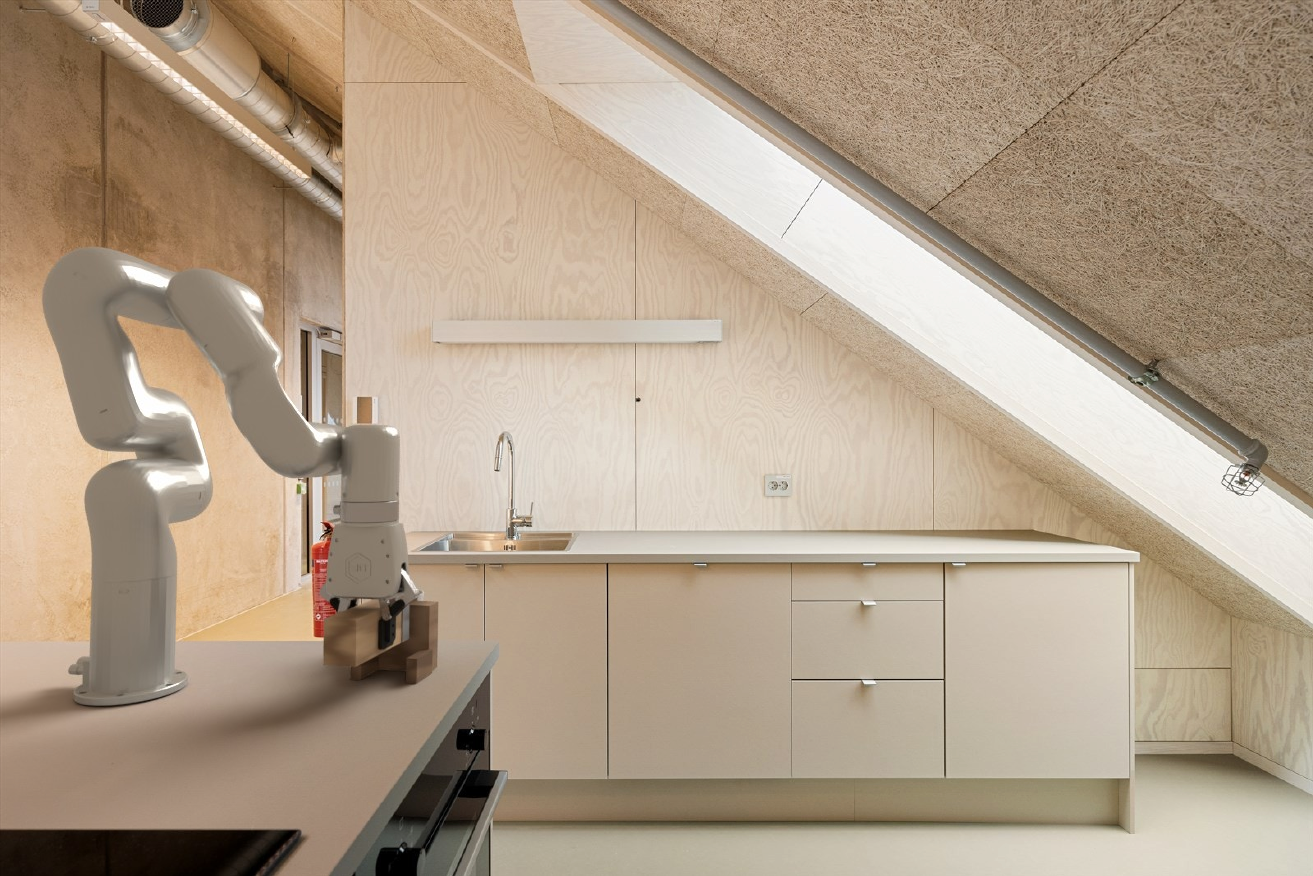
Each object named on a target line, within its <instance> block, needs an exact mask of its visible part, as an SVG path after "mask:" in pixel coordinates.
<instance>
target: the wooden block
mask: <svg viewBox="0 0 1313 876" xmlns="http://www.w3.org/2000/svg"><path fill="white" fill-rule="evenodd" d="M397 599H398V600H399V599H400V598H397ZM380 620H382V614H381V609H380V604H379V599H372V600H371V599H370V600H368V601H365V602H362V603H361V604H358V605H357V606H355V607H353V608H350V609H347V610H345V611H342V612H340V613H337V612H336V613H334V614H332V615H329V616H328V617H325V618H323V649H322V650H323V655H322V657H323V658H322V659H323V660H322V665H323V666H329V667H330V666H331V667H348V668H349V667H350V668H351V667H357V666H359V665H360V664H362V663H364V662H366V661H368V660H370V659H372V658H373V657H375V656H377V655H379V654H381V653H383V652H385V651H386V650H388V649H390V648H392V647H394V646H396V645H398V644H399V643H401V642H404V641H406V640H408V639H409V604H408V605H407V606H406V607H405V608H404V609H403V610H402V611H401V612H400V614H399V615H398V616H396V638H395V640H394V643H393V645H392V646H390V647H388V648H386V649H384V650H379V648H378V624H379V621H380Z"/></svg>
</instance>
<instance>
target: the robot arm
mask: <svg viewBox="0 0 1313 876" xmlns="http://www.w3.org/2000/svg"><path fill="white" fill-rule="evenodd" d="M41 296H42V299H41V302H42V310H43V316H44V318H45V322H46V325H47V328H48V330H49V333H50V336H51V338H52V342H53V343H54V347H55V348H56V353H57V355H58V359H59V361H60V362H59V363H60V364H61V369H62V373H63V376H64V381H65V385H66V389H67V392H68V396H69V399H70V402H71V406H72V410H73V414H74V417H75V421H76V425H77V427H78V430H79V433H80V435H81V437H82V439H83V440H84V441H85V442H86V443H87V444H88V445H89V446H90V447H92V448H95V449H97V450H100V451H105V452H115V453H118V452H120V453H135V457H136V458H130V459H121V460H119V461H115V462H111V463H109V464H107V465H104V466H103V467H101V468H100V469H99V470H97V471H96V472H95V473H94V474H93V475H92V477H90V479H89V481H88V483H87V485H86V487H85V490H84V498H83V500H84V511H85V515H86V521H87V524H88V530H89V537H90V545H91V546H90V547H91V551H90V552H91V574H90V575H91V577H90V579H91V596H90V600H91V601H90V630H89V631H90V632H89V634H90V635H89V656H86V655H85V656H81V657H79V658H78V659H77V660H76V662H75V663H74V664H70V665H69V667H68V670H67V672H68V674H69V675H72V676H73V675H75V676H81V675H82V681H81V683H82V684H80V685H78V686H77V687H76V688H74V691H73V700H74V702H76V703H78V704H80V705H84V706H96V707H100V706H102V707H103V706H104V707H107V706H119V705H129V704H135V703H139V702H140V703H141V702H145V701H149V700H150V701H151V700H154V699H158V698H161V697H164V696H168V695H170V694H173V693H175V692H178V691H181V690H182V689H183V688H184V687H186V685H187V684H188V678H189V675H188V674H187V673H186V672H185V671H184V670H180V669H176V633H177V632H176V629H177V595H178V593H177V591H178V556H177V547H176V544H175V540H174V537H173V534H172V532H171V528H170V526H169V525H170V524H175V523H176V524H177V523H182V522H187V521H191V520H192V519H194V518H197V517H198V516H200V515H201V514H203V513H204V512H205V510H206V509H207V508H208V506H209V505H210V504H211V501H212V498H213V491H214V483H213V477H212V472H211V468H210V465H209V462H208V458H207V454H206V451H205V446H204V444H203V440H202V437H201V432H200V429H199V426H198V422H197V419H196V417H195V416H196V415H195V414H194V413H193V411H192V409H191V407H190V406H189V404H188V403H187V402H186V401H185V400H184V399H183V398H182V397H180V396H179V395H178V394H176V393H174V392H172V391H170V390H167V389H164V388H160V387H153V386H149V385H148V383H147V382H146V379H145V377H144V374H143V371H142V368H141V365H140V361H139V357H138V353H137V350H136V348H135V346H134V343H132V341H131V339H130V337H129V335H128V334H127V333H126V332H125V330H124V328H123V327H122V325H121V323H120V322H119V319H118V317H119V316H120V317H123V318H125V319H126V318H127V319H131V320H135V321H138V322H141V323H146V324H150V325H154V326H158V327H164V328H169V329H174V330H175V329H176V330H181V331H184V332H185V333H186V335H187V336H188V338H190V340H191V341H192V342H193V343H194V345H195V346H196V347H197V349H198V350H199V352H200V353H201V355H203V357H204V358H205V359H206V361H207V362H208V363H209V366H210V367H211V368H212V369H213V371H214V372H215V374H216V375H217V377H219V379H220V380H221V382H222V384H223V385H224V394H225V399H226V403H227V405H228V410H229V412H230V414H231V418H232V419H233V422H234V424H235V425H236V427H237V428H238V430H239V431H240V433H241V435H242V436H243V437H244V438H245V440H246V441H247V443H248V444H249V445H250V447H251V448H252V449H253V450H254V452H255V453H256V454H257V456H258V457H259V458H260V459H261V461H262V462H263V463H264V464H265V465H266V466H267V467H268V468H269V469H271V470H272V471H273V472H275V473H277V474H278V475H280V476H282V477H285V478H288V479H305V478H306V479H307V478H325V477H331V476H338V475H341V476H340V477H341V479H340V481H341V482H340V483H341V485H340V502H339V504H335V505H333V507H332V513H333V514H334V515H338V516H339V521H340V523H335V524H334V526H333V531H332V534H331V538H330V543H329V549H328V555H327V564H326V577H325V578H326V579H325V582H324V583H323V585H322V586H321V587H320V589H319V591H318V594H319V596H320V597H322V598H323V599H324V600H325V601H326V602H329V605H330V606H331V607H332V608H333V609H334V611H335V613H336V614H337V613H340V612H342V611H345V610H347V609H350V608H353V607H355V606H358V605H359V601H360V600H371V599H379V604H380V609H381V614H382V620H380V621H379V624H378V648H379V650H384V649H386V648H388V647H390V646H392V645H393V643H394V640H395V638H396V616H398V615H399V614H400V612H401V611H402V610H403V609H404V608H405V607H406V606H407V605H408V604H409V603H411V602H412V601H414V600H415V599H417V598H418V597H419V596H420V593H419V591H418V590H419V589H418V588H417V586H416V585H415V584H414V582H413V581H412V579H411V578H410V568H409V566H410V565H409V551H408V543H407V536H406V532H405V528H404V523H403V522H402V523H401V522H400V467H401V466H400V461H401V459H400V458H401V457H400V456H401V455H400V454H401V453H400V452H401V451H400V450H401V439H400V438H401V437H400V432H399V430H398V429H397V428H396V427H394V426H391V425H384V424H383V425H382V424H353V425H348V426H344V425H343V426H342V425H336V424H332V423H331V424H330V423H322V422H321V423H320V422H313V421H307V419H306V418H304V415H302V413H301V412H300V411H299V410H298V408H297V407H296V406H295V404H294V403H293V401H291V399H290V398H289V396H288V395H287V393H286V391H285V390H284V388H283V386H282V383H281V382H280V378H279V368H280V367H281V365H283V362H284V353H283V351H282V349H281V348H280V346H279V345H278V343H276V341H275V340H274V339H273V337H272V335H270V333H269V332H268V331H267V329H266V328H265V327H264V325H263V323H264V318H265V309H264V305H263V304H264V303H262V300H261V298H260V297H259V295H258V294H257V293H256V292H255V291H254V290H253V289H252V288H251V287H250V286H248V285H246V284H245V283H243V282H242V281H239V280H238V279H234V278H232V277H229V276H227V275H225V274H222V273H221V272H218V271H216V270H213V269H209V268H203V267H202V268H201V267H200V268H199V267H195V268H194V267H193V268H187V269H184V270H182V271H180V272H178V271H173V270H170V269H167V268H164V267H161V266H159V265H156V264H153V263H151V262H148V261H145V260H144V259H141V258H138V257H136V256H134V255H131V254H128V253H125V252H122V251H119V250H115V249H111V248H108V247H103V246H101V247H100V246H99V247H98V246H87V247H79V248H77V249H74V250H71V251H69V252H68V253H65V254H64V255H63V256H62V257H60V258H59V259H58V260H57V261H56V262H55V264H53V266H52V268H51V269H50V270H49V272H48V274H47V276H46V278H45V281H44V285H43V288H42V295H41ZM417 589H418V590H417ZM403 592H404V596H403V597H401V598H400V599H399V600H398V599H397V594H399V593H403Z"/></svg>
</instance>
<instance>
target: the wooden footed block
mask: <svg viewBox="0 0 1313 876" xmlns="http://www.w3.org/2000/svg"><path fill="white" fill-rule="evenodd" d="M403 596H404V595H402V596H400V597H398V598H401V597H403ZM438 632H439V601H432V600H431V601H430V600H429V601H428V600H423V601H417V599H415V600H414V601H412V602H411V603H409V639H408V640H406V641H404V642H401V643H399V644H398V645H396V646H394V647H392V648H390V649H388V650H386V651H385V652H383V653H381V654H379V655H377V656H375V657H373V658H372V659H370V660H368V661H366V662H364V663H362V664H360V665H359V666H357V667H350V671H349V672H350V673H349V674H350V675H349V676H350V677H349V678H350V679H349V680H352V681H353V680H354V681H355V680H356V681H361V680H363V679H366V677H368V676H371V675H372V674H374V673H376V672H377V671H393V672H394V671H395V672H405V674H406V675H405V677H406V679H405V683H407V684H418V683H420V682H421V681H423V680H424V679H425V678H427V677H429V676H430V675H431V674H432V673H433V670H435V669H436V668H438V641H439V633H438Z"/></svg>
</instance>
